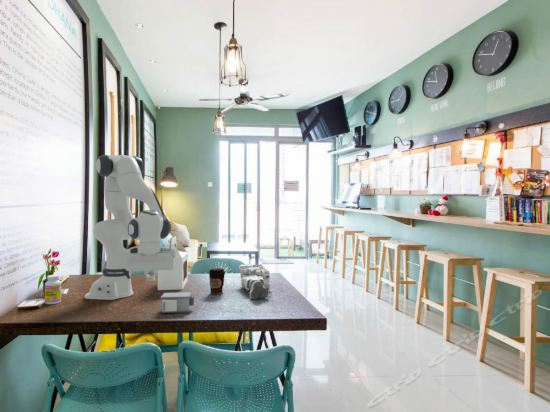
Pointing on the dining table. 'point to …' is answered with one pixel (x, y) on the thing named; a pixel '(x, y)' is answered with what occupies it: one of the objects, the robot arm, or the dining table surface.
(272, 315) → the dining table surface
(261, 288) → the spaceship
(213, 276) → the coffee cup
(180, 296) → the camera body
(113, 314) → the dining table surface
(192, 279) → the dining table surface
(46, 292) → the supplement bottle
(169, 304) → the side door
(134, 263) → the robot arm
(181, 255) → the gable box
